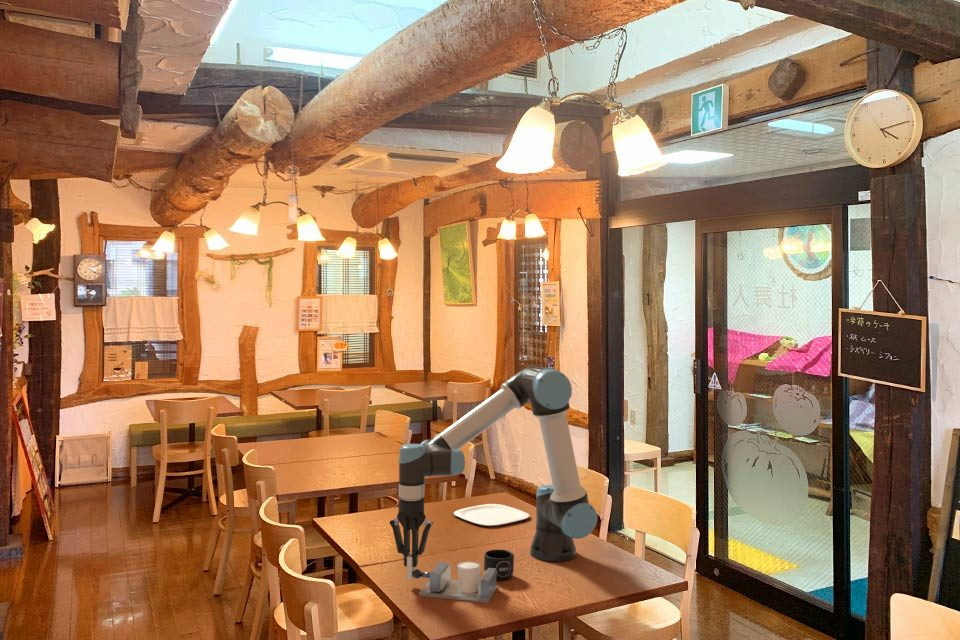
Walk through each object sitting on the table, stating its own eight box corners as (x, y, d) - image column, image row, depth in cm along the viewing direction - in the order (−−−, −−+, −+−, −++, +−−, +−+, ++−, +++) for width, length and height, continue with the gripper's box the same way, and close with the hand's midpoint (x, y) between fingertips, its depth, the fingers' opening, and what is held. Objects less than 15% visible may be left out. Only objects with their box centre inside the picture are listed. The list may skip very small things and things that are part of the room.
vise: (496, 587, 230) (497, 567, 230) (487, 603, 218) (488, 581, 218) (431, 580, 234) (431, 561, 234) (419, 595, 223) (419, 574, 222)
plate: (495, 505, 321) (495, 501, 321) (537, 520, 301) (537, 515, 301) (445, 515, 305) (445, 511, 305) (487, 531, 285) (487, 527, 285)
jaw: (450, 579, 232) (451, 563, 232) (441, 592, 222) (441, 574, 222) (417, 576, 234) (418, 559, 234) (407, 588, 225) (407, 571, 224)
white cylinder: (478, 594, 222) (478, 570, 221) (454, 592, 223) (454, 568, 223) (482, 585, 228) (483, 562, 228) (459, 583, 230) (460, 560, 229)
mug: (517, 580, 236) (518, 557, 236) (489, 583, 233) (489, 560, 233) (504, 567, 247) (504, 545, 247) (477, 570, 244) (477, 547, 244)
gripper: (436, 496, 231) (435, 574, 232) (394, 492, 234) (393, 570, 235) (429, 502, 224) (428, 584, 224) (386, 499, 227) (385, 579, 227)
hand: (410, 577), depth 230 cm, fingers closed
